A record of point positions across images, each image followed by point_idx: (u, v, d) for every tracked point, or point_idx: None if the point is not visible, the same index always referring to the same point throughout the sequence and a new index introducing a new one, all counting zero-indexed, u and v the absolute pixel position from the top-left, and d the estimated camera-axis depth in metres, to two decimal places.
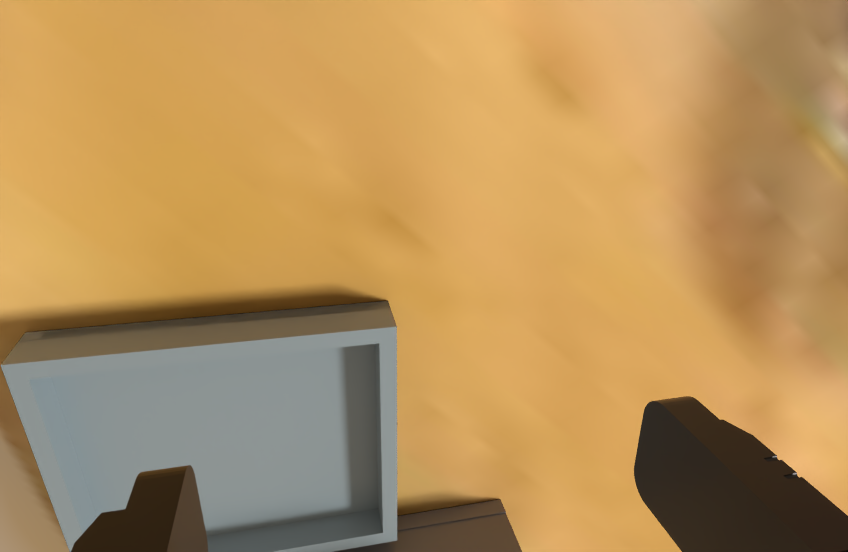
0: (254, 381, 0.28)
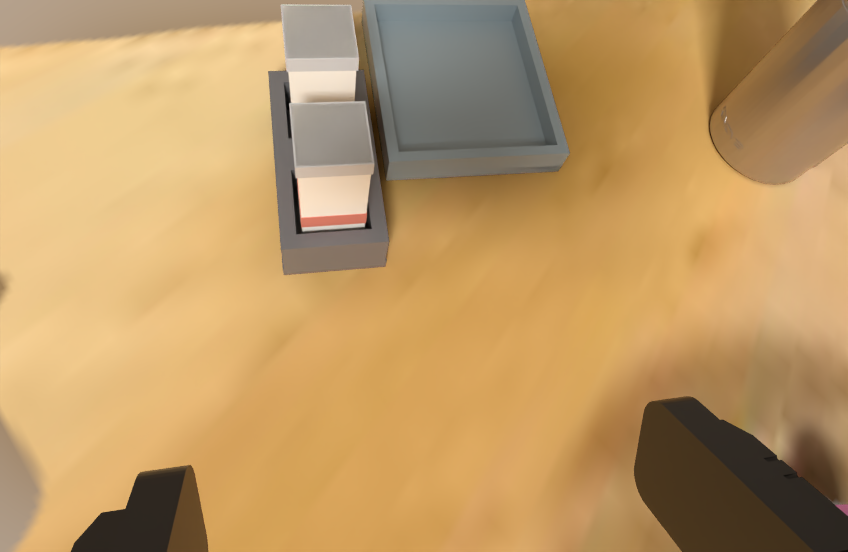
0: (504, 99, 0.47)
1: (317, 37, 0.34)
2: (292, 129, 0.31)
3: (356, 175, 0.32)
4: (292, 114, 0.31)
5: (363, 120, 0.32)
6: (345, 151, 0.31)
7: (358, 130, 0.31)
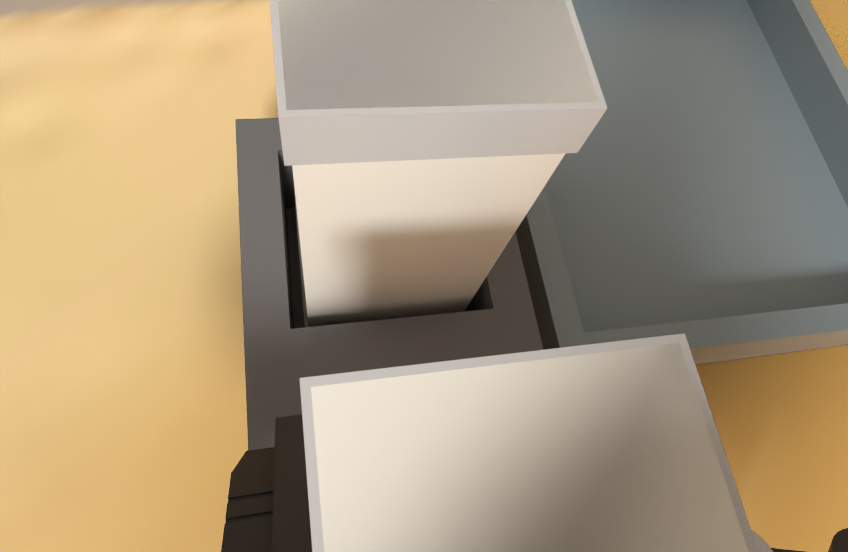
0: (768, 168, 0.21)
1: (419, 12, 0.08)
2: None
3: None
4: (319, 458, 0.05)
5: (704, 459, 0.06)
6: None
7: (693, 536, 0.06)
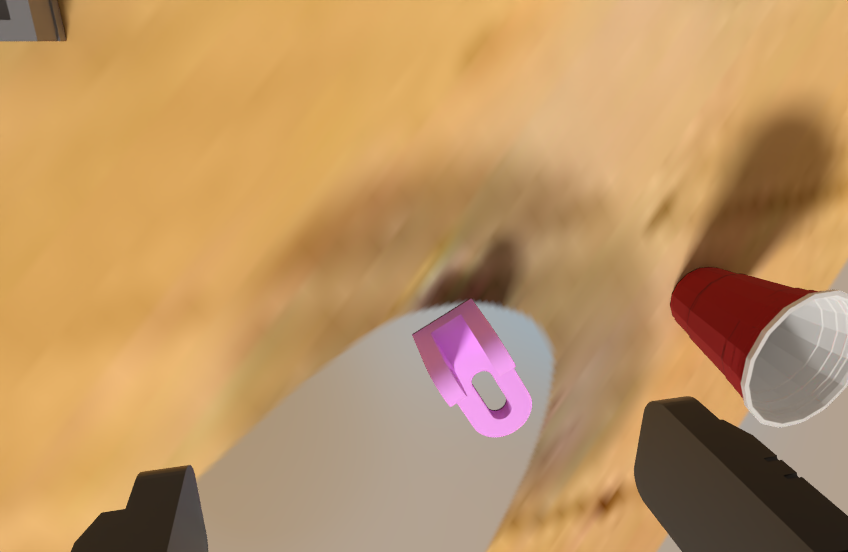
0: None
1: None
2: None
3: None
4: None
5: None
6: None
7: None
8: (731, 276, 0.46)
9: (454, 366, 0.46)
